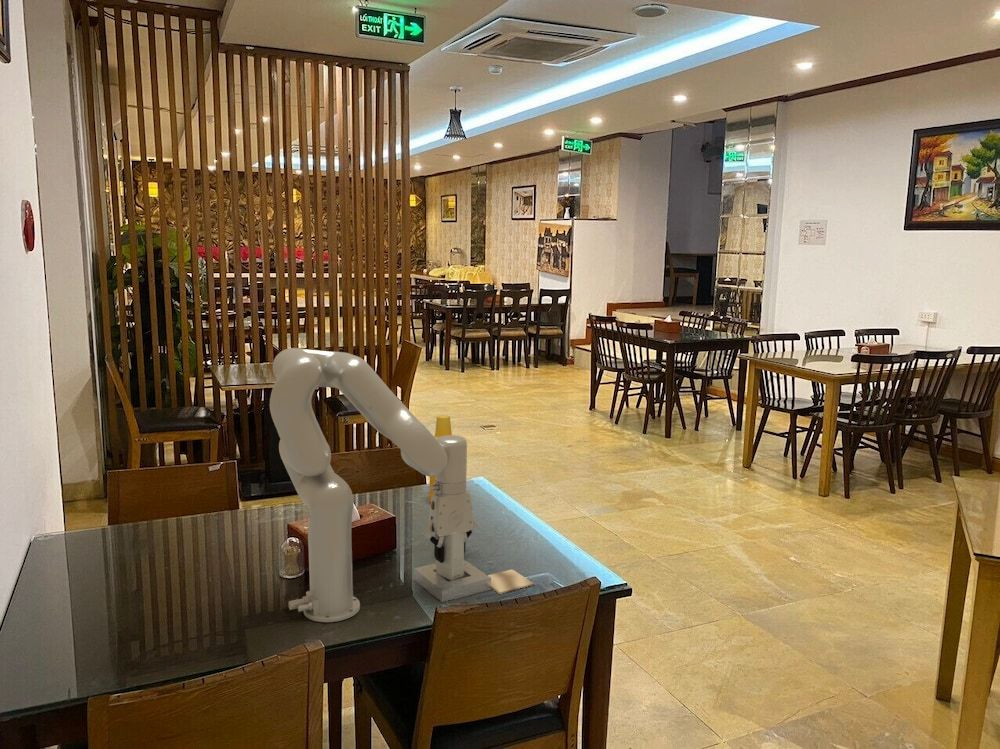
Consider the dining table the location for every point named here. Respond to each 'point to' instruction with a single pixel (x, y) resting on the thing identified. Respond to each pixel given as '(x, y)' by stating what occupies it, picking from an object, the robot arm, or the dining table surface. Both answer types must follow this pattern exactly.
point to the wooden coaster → (508, 581)
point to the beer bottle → (441, 430)
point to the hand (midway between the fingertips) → (449, 557)
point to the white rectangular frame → (452, 582)
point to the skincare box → (452, 557)
